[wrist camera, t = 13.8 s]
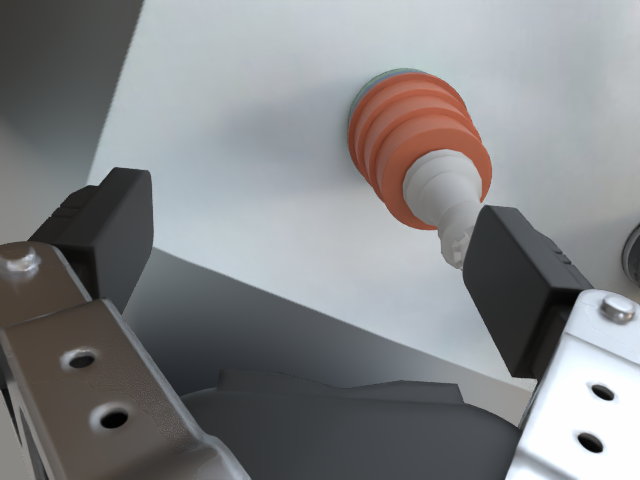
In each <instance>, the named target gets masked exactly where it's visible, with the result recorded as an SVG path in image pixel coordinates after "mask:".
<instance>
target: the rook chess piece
mask: <svg viewBox="0 0 640 480" xmlns="http://www.w3.org/2000/svg"><path fill="white" fill-rule="evenodd" d="M481 196H482V179H481V177H480V175H479V173H478V171H477V169H476V167H475V166H474V164H473V162H472V160H470V159H469V158H468V157H467V156H465V155H464V154H463V153H461V152H457V151H453V150H449V149H444V150H438V151H431V152H430V153H428V154H426V155H424V156H422V157H421V158H419V159H417V160H416V162H415V163H414V164H413V165H412V166H411V167H410V169H409V170H408V171H407V173H406V176H405V179H404V182H403V197H404V200H405V201H406V203H407V205H408V207H409V208H410V210H411V211H412V213H413V214H414V216H416V217H417V218H419V219H420V220H422V221H423V222H425V223H426V224H429V225H433V226H436V227H437V228H438V237H439V238H440V240H441V253H442V255H443V257H444V259H445V260H446V262H447V263H449V264H450V265H452V266H453V267H455V268H456V269H460V270H462V271H463V262H464V258H465V255H466V252H467V248H468V245H469V242H470V239H471V236H472V233H473V230H474V226H475V223H476V220H477V217H478V214H479V212H480V210H481V209H482V207H484V206H485V205H484V204H482V203H480V198H481Z"/></svg>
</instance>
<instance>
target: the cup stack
mask: <svg viewBox="0 0 640 480" xmlns="http://www.w3.org/2000/svg"><path fill="white" fill-rule="evenodd" d="M348 147H349V151H350V155H351V158H352V160H353V162H354V164H355V166H356V168H357V169H358V171H359V172H360V173H361V174H362V176H364V177H365V179H366V181H367V182H368V183H369V184H370V185H371V186H372V187H373V189H374V191H375V193H376V194H377V196H378V197H379V198H380V199H381V201H383V202H384V203H385V205H386V207H387V208H388V210H389V212H390V213H391V214H392V215H393V216H394V217H395V218H396V219H397V220H399V221H400V222H401V223H403V224H405V225H407V226H409V227H412V228H415V229H420V230H438V228H437V227H436V226H433V225H429V224H426V223H425V222H423V221H422V220H420V219H419V218H417V217H416V216H414V214H413V213H412V211H411V210H410V208H409V207H408V205H407V203H406V201H405V200H404V197H403V182H404V179H405V176H406V173H407V171H408V170H409V169H410V167H411V166H412V165H413V164H414V163H415V162H416V160H417V159H419V158H421V157H422V156H424V155H426V154H428V153H430V152H431V151H438V150H444V149H449V150H453V151H457V152H461V153H463V154H464V155H465V156H467V157H468V158H469V159H470V160H472V162H473V164H474V166H475V167H476V169H477V171H478V173H479V175H480V177H481V179H482V196H481V198H480V203H482V202H483V200H484V198H485V197H486V195H487V192H488V190H489V187H490V184H491V178H492V166H491V161H490V157H489V155H488V153H487V150H486V149H485V147H484V146H483V145H482V141H481V138H480V136H479V133H478V131H477V130H476V128H475V127H474V125H473V123H472V120H471V118H470V115H469V114H468V112H467V109H466V106H465V104H464V102H463V100H462V98H461V97H460V95H459V94H458V93H457V92H456V91H455V90H454V88H452V87H451V86H450V85H449V84H448V83H446V82H445V81H443V80H442V79H440V78H438V77H435V76H433V75H430V74H428V73H425V72H423V71H420V70H416V69H396V70H391V71H388V72H385V73H383V74H381V75H379V76H377V77H376V78H374V79H372V80H371V81H370V82H369V83H367V84H366V85H365V86H364V87H363V89H362V90H361V91H360V92H359V94H358V95H357V97H356V98H355V100H354V102H353V105H352V107H351V110H350V114H349V120H348Z"/></svg>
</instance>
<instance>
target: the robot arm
mask: <svg viewBox="0 0 640 480" xmlns="http://www.w3.org/2000/svg"><path fill="white" fill-rule="evenodd" d="M153 236H154V228H153V204H152V181H151V175H150V172H149V171H148V170H139V169H129V168H119V167H114V168H113V169H112V170H111V172H110V173H109V174H108V175H107V176H106V178H105V179H104V180H103V181H102V182H101V183H100V185H99V186H92V185H89V186H86V187H84V188H82V189H80V190H78V191H76V192H74V193H72V194H70V195H69V196H68V197H67V198H66V200H65V201H64V202H63V203H62V204H61V205H60V208H57V209H56V210H55V211H54V212H53V214H52V216H51V217H49V218H48V219H47V220H46V221H45V222H44V223H43V224H42V225H41V226H40V228H39V229H38V230H37V231H36V232H35V233H34V234H33V235H32V236H31V237H30V238H29V239H28V240H27V241H22V242H13V243H7V244H3V245H0V394H1V397H2V399H3V402H4V405H5V408H6V410H7V413H8V416H9V419H10V422H11V425H12V427H13V430H14V433H15V436H16V439H17V441H18V444H19V447H20V450H21V452H22V455H23V458H24V461H25V464H26V467H27V470H28V473H29V476H30V479H31V480H640V305H639V304H637V303H636V302H634V301H632V300H630V299H628V298H626V297H624V296H622V295H619V294H616V293H613V292H609V291H605V290H598V289H595V288H594V287H593V286H592V285H591V284H590V283H589V282H588V281H587V279H586V278H585V277H584V276H583V275H582V274H581V273H580V272H579V270H578V269H577V268H576V267H575V266H574V265H571V261H570V260H569V259H568V258H567V257H566V256H565V255H562V251H561V250H560V249H559V248H558V247H557V246H556V244H555V243H554V242H553V241H552V240H551V239H549V238H548V237H546V236H544V235H543V234H541V233H540V232H538V231H537V230H535V229H534V228H533V227H532V225H531V224H530V223H529V222H528V221H527V220H526V218H525V217H524V216H523V215H522V214H521V213H520V212H519V210H518V209H516V208H510V207H500V206H490V205H485V206H484V207H482V209H481V210H480V212H479V214H478V217H477V220H476V223H475V226H474V230H473V233H472V236H471V239H470V242H469V245H468V248H467V252H466V255H465V258H464V262H463V280H464V283H465V286H466V288H467V289H468V291H469V293H470V295H471V297H472V299H473V301H474V303H475V305H476V307H477V309H478V311H479V313H480V315H481V317H482V319H483V321H484V323H485V325H486V327H487V329H488V331H489V333H490V335H491V337H492V339H493V341H494V343H495V345H496V347H497V349H498V350H499V352H500V354H501V356H502V358H503V360H504V362H505V364H506V366H507V368H508V370H509V372H510V374H511V376H512V377H515V378H531V379H537V381H538V383H537V385H536V387H535V389H534V391H533V393H532V396H531V398H530V400H529V402H528V405H527V407H526V409H525V412H524V414H523V416H522V418H521V421H520V423H519V425H518V428H517V427H516V426H514V425H513V424H511V423H510V422H508V421H506V420H504V419H503V418H501V417H499V416H497V415H495V414H493V413H491V412H489V411H486V410H484V409H481V408H478V407H476V406H473V405H470V404H467V403H464V401H463V398H462V395H461V393H460V390H459V387H458V385H457V384H450V383H435V382H419V381H403V380H400V381H393V382H387V383H380V384H373V385H366V386H360V387H353V388H338V387H333V386H330V385H326V384H322V383H318V382H314V381H310V380H306V379H302V378H299V377H295V376H291V375H287V374H284V373H277V372H276V373H275V372H260V371H245V370H228V369H220V374H219V380H218V385H217V387H216V388H210V389H205V390H201V391H197V392H193V393H190V394H187V395H184V396H182V397H178V395H177V394H176V393H175V391H174V390H173V388H172V387H171V386H170V384H169V383H168V381H167V380H166V378H165V377H164V375H163V374H162V373H161V371H160V370H159V368H158V367H157V365H156V364H155V363H154V361H153V360H152V358H151V357H150V356H149V354H148V353H147V351H146V350H145V348H144V347H143V346H142V344H141V343H140V341H139V340H138V339H137V337H136V336H135V334H134V333H133V331H132V330H131V328H130V327H129V326H128V324H127V323H126V321H125V320H124V318H123V317H122V316H121V315H122V313H123V311H124V309H125V307H126V305H127V303H128V300H129V298H130V296H131V294H132V292H133V290H134V288H135V286H136V284H137V282H138V280H139V278H140V275H141V273H142V271H143V269H144V267H145V265H146V263H147V261H148V259H149V257H150V254H151V250H152V245H153ZM623 267H624V270H625V272H626V274H627V276H628V277H629V278H630V279H631V280H632V281H633V282H634V283H635V284H636V285H637V286H639V287H640V226H639V227H638V228H637V229H636V230H635V231H634V233H633V234H632V235H631V237H630V239H629V240H628V242H627V244H626V247H625V250H624V254H623Z"/></svg>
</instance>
